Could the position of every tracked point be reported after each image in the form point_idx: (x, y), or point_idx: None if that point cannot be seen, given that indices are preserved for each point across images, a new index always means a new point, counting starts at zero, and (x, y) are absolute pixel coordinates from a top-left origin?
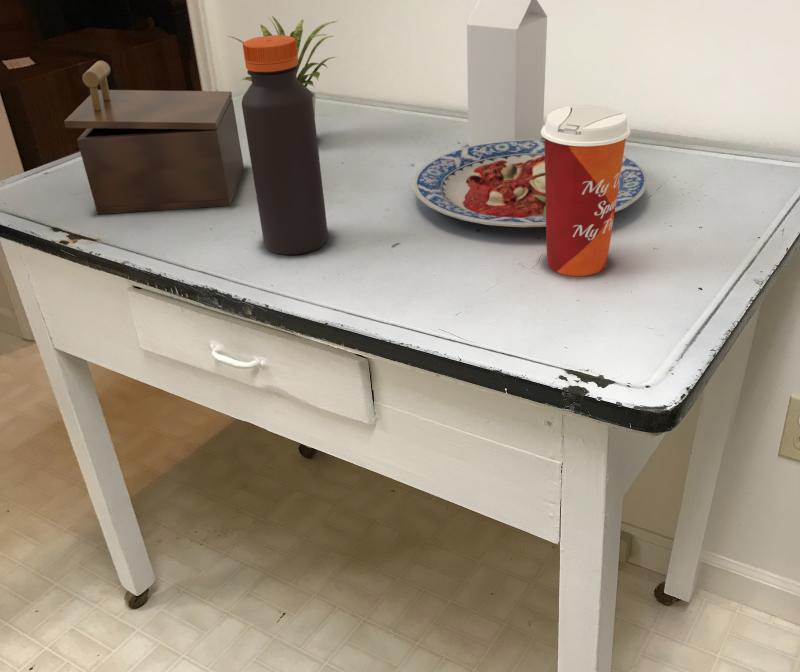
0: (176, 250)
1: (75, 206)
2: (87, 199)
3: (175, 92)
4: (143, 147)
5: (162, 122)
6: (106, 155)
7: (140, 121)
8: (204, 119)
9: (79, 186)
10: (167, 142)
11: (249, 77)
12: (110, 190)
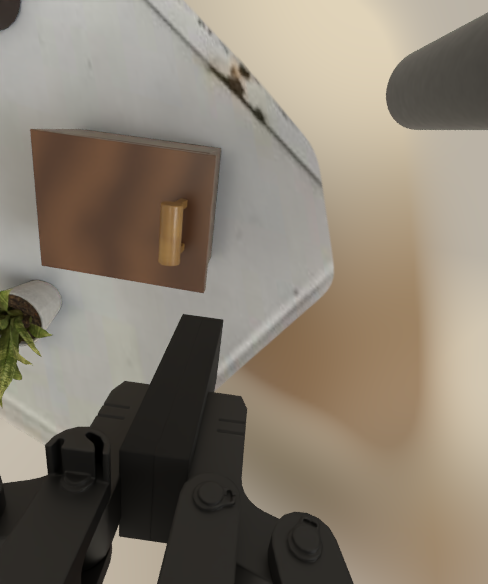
0: (116, 8)
1: (249, 181)
2: (239, 199)
3: (105, 269)
4: (134, 141)
5: (94, 138)
6: (182, 147)
7: (120, 143)
8: (46, 145)
9: (254, 242)
10: (103, 137)
11: (41, 336)
12: (196, 146)
